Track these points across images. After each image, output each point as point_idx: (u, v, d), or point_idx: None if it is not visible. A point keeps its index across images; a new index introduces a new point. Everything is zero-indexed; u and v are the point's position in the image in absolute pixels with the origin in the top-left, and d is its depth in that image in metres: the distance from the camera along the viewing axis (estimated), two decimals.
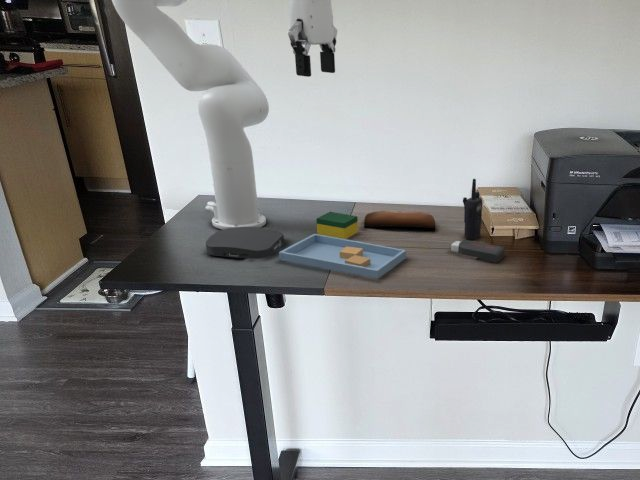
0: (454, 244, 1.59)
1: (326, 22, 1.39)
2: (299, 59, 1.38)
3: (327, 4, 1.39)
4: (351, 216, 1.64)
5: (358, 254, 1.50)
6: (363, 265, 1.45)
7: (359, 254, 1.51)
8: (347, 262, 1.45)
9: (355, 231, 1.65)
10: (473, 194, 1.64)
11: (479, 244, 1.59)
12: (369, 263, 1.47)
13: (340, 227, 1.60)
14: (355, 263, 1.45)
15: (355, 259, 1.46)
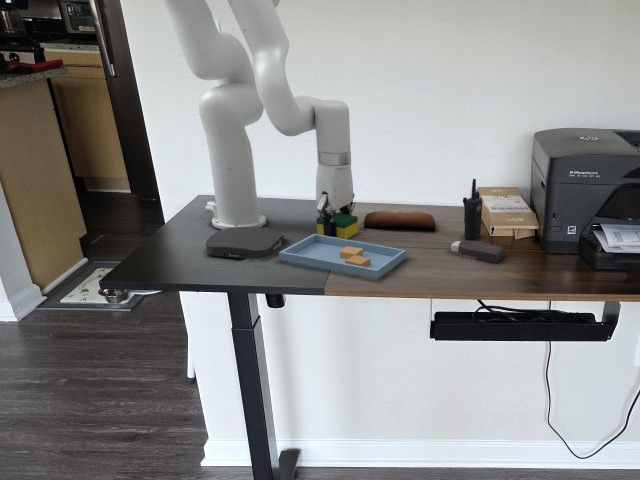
0: (454, 244, 1.59)
1: (347, 189, 1.60)
2: (327, 225, 1.60)
3: (348, 174, 1.59)
4: (351, 216, 1.64)
5: (358, 254, 1.50)
6: (363, 265, 1.45)
7: (359, 254, 1.51)
8: (347, 262, 1.45)
9: (355, 231, 1.65)
10: (473, 194, 1.64)
11: (479, 244, 1.59)
12: (369, 263, 1.47)
13: (340, 227, 1.60)
14: (355, 263, 1.45)
15: (355, 259, 1.46)
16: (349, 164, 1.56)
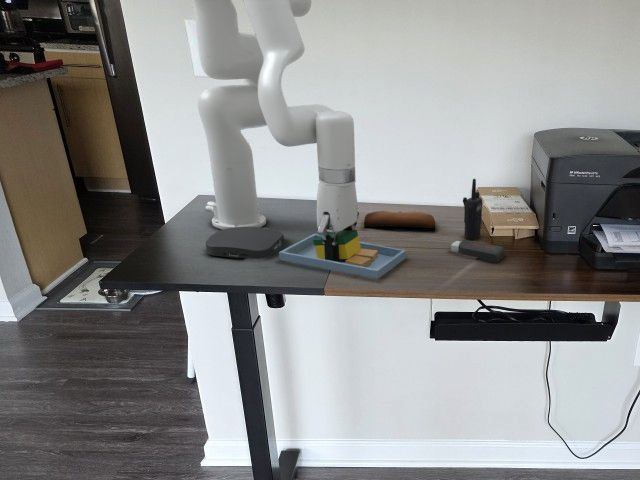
0: (454, 244, 1.59)
1: (351, 208, 1.45)
2: (328, 248, 1.45)
3: (352, 192, 1.44)
4: (350, 231, 1.49)
5: (374, 256, 1.50)
6: (364, 265, 1.45)
7: (375, 256, 1.51)
8: (348, 262, 1.45)
9: (357, 247, 1.50)
10: (473, 194, 1.64)
11: (479, 244, 1.59)
12: (370, 263, 1.47)
13: (340, 244, 1.45)
14: (356, 263, 1.45)
15: (355, 259, 1.46)
16: (353, 181, 1.41)
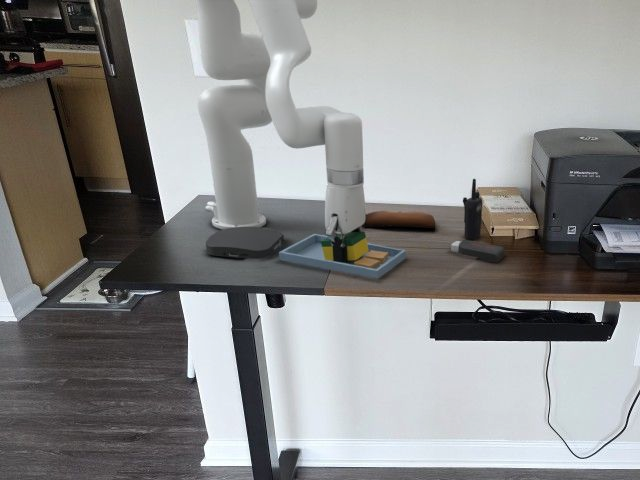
0: (454, 244, 1.59)
1: (359, 210, 1.45)
2: (336, 250, 1.44)
3: (360, 194, 1.44)
4: (358, 233, 1.49)
5: (384, 258, 1.49)
6: (372, 267, 1.45)
7: (385, 258, 1.50)
8: (356, 264, 1.45)
9: (365, 248, 1.50)
10: (473, 194, 1.64)
11: (479, 244, 1.59)
12: (379, 265, 1.47)
13: (347, 246, 1.45)
14: (364, 265, 1.44)
15: (364, 261, 1.46)
16: (362, 183, 1.41)
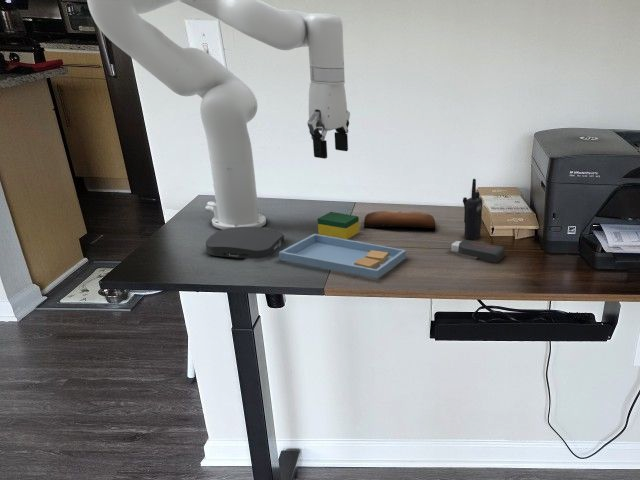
0: (454, 244, 1.59)
1: (340, 109, 1.56)
2: (317, 144, 1.54)
3: (342, 94, 1.55)
4: (352, 216, 1.64)
5: (384, 258, 1.49)
6: (372, 267, 1.45)
7: (385, 258, 1.50)
8: (356, 264, 1.45)
9: (356, 231, 1.65)
10: (473, 194, 1.64)
11: (479, 244, 1.59)
12: (379, 265, 1.47)
13: (341, 227, 1.60)
14: (364, 265, 1.44)
15: (364, 261, 1.46)
16: (343, 82, 1.52)
